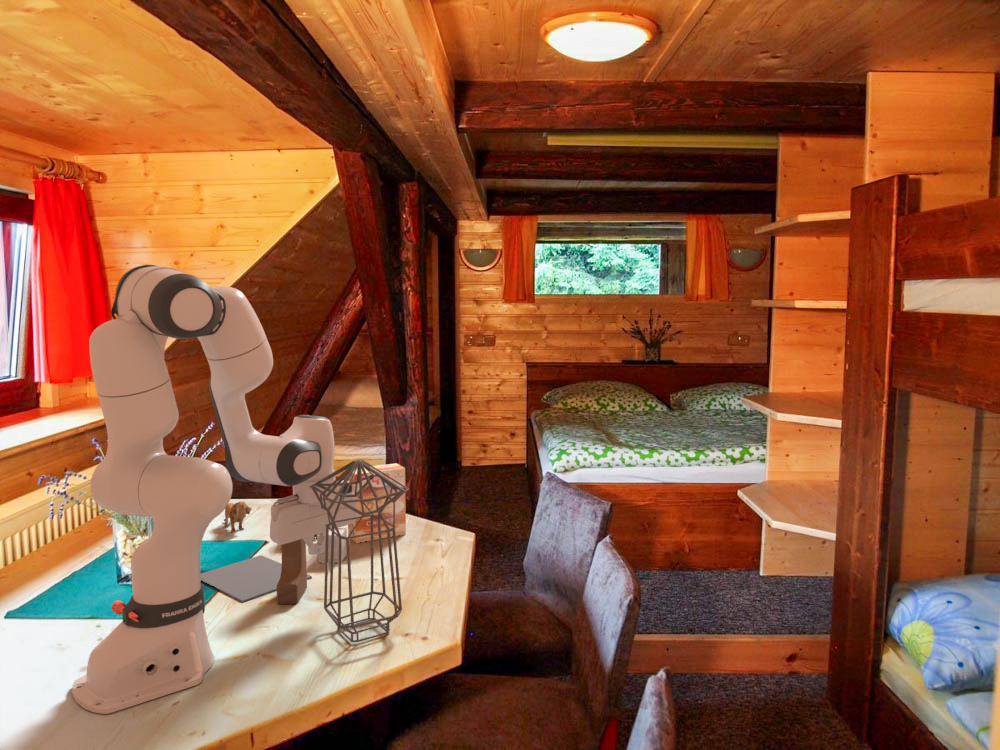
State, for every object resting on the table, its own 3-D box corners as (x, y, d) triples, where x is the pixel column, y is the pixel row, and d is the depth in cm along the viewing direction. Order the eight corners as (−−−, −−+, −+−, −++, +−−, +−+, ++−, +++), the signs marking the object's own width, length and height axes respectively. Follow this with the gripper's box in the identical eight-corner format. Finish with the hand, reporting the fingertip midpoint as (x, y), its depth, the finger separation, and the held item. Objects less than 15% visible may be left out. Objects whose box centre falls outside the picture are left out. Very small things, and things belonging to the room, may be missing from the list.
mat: (242, 602, 155) (242, 600, 155) (193, 577, 169) (193, 575, 169) (311, 577, 169) (311, 576, 169) (261, 556, 183) (261, 555, 183)
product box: (347, 554, 184) (347, 527, 184) (341, 563, 178) (340, 535, 178) (324, 554, 185) (324, 527, 184) (317, 563, 179) (316, 534, 178)
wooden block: (297, 604, 154) (294, 524, 152) (276, 604, 154) (273, 524, 152) (307, 587, 163) (305, 511, 161) (287, 588, 163) (285, 512, 161)
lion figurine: (254, 531, 203) (253, 501, 202) (236, 536, 199) (235, 504, 198) (232, 520, 213) (231, 491, 212) (214, 524, 210) (213, 494, 209)
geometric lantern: (414, 637, 139) (412, 462, 136) (337, 658, 131) (332, 473, 127) (383, 608, 153) (380, 448, 149) (311, 625, 144) (306, 457, 140)
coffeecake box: (355, 544, 193) (354, 473, 190) (347, 536, 199) (345, 468, 197) (406, 534, 200) (405, 467, 198) (397, 527, 206) (396, 462, 204)
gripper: (279, 503, 140) (282, 570, 141) (361, 482, 156) (363, 543, 157) (262, 497, 144) (264, 563, 146) (343, 478, 160) (345, 537, 161)
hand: (316, 553), depth 151 cm, fingers closed
